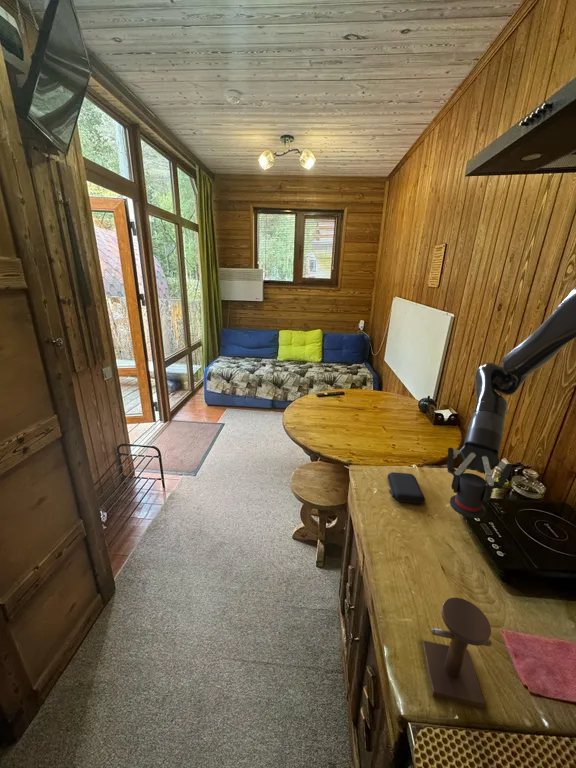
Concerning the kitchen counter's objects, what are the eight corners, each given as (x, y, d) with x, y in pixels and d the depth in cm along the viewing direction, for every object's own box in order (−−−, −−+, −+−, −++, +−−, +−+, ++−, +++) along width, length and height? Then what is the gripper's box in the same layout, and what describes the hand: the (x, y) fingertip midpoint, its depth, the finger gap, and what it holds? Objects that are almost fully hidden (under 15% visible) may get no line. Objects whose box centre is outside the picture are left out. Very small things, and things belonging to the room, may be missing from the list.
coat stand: (470, 654, 58) (487, 600, 53) (488, 709, 50) (509, 651, 46) (418, 643, 59) (429, 589, 55) (427, 695, 52) (442, 637, 47)
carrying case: (383, 476, 111) (390, 503, 97) (384, 469, 110) (391, 495, 96) (413, 479, 110) (425, 507, 96) (414, 471, 109) (427, 499, 95)
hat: (484, 504, 76) (491, 476, 74) (485, 523, 70) (492, 493, 68) (451, 493, 80) (456, 467, 78) (448, 510, 74) (454, 482, 72)
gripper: (453, 419, 79) (435, 481, 74) (521, 435, 71) (508, 506, 66) (453, 431, 85) (437, 489, 79) (516, 446, 77) (503, 512, 71)
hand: (469, 496), depth 73 cm, fingers closed on hat, 5 cm apart
